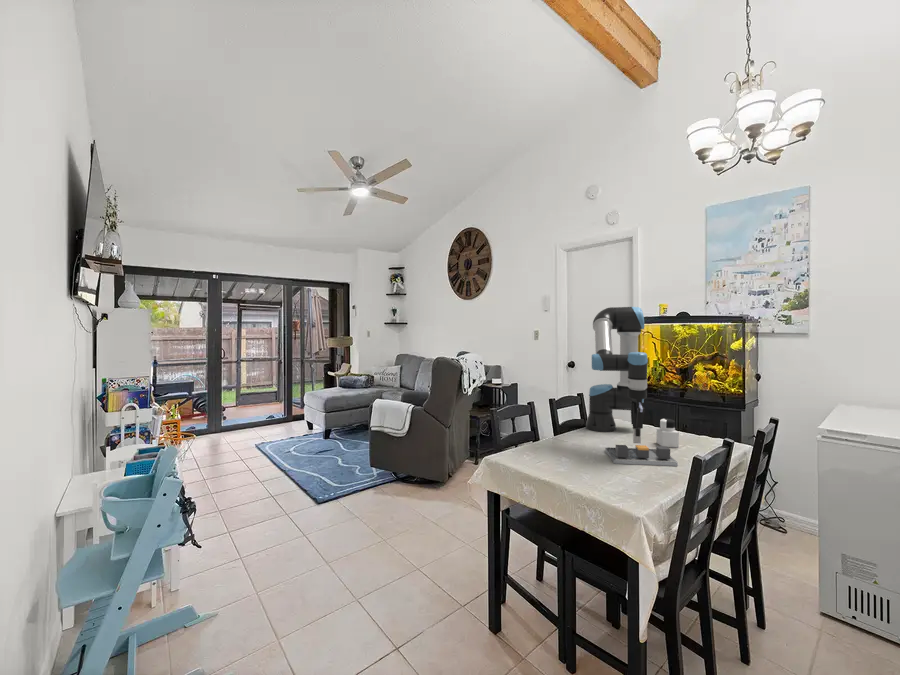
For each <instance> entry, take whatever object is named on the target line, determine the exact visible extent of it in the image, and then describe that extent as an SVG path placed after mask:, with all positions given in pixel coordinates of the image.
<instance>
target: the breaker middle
mask: <svg viewBox="0 0 900 675" xmlns="http://www.w3.org/2000/svg"><path fill="white" fill-rule="evenodd" d="M635 448H636V456H637V457H638V458H649V449H650V447H648V446H647V445H646V444H645V445H644V444H643V445H642V444H641V445H640V444H636V445H635Z"/></svg>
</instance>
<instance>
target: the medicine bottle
mask: <svg viewBox="0 0 900 675" xmlns="http://www.w3.org/2000/svg"><path fill="white" fill-rule="evenodd" d="M655 432H656V439H655V440H656V444H658V446H667V447H668V448H679V447H680V446H679V444H680V443H679V442H680V432H679V431H677V430H676V421H675V420H674V419H671V418H661V419H660V422H659V427H656V431H655Z"/></svg>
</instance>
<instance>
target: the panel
mask: <svg viewBox="0 0 900 675" xmlns="http://www.w3.org/2000/svg"><path fill="white" fill-rule="evenodd" d="M604 451H605V453H606V454H607V456H608V457H609V459H610V460H611V461H612V463H613V464H615V465H635V466H636V465H642V466H643V465H644V466H667V467H678V466H679V465H678V462H677V461H676V459H674V458H673V457H672V456H671V455H670V459H659V458H658V457H657V456H656V448H649V458H638V457H637V456H636V447H635V448H634V447H633V448H632V447H628V458H623V457H617V455H616V447H604Z"/></svg>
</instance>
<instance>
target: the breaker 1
mask: <svg viewBox="0 0 900 675" xmlns="http://www.w3.org/2000/svg"><path fill="white" fill-rule="evenodd" d="M615 448H616V455H617V457H623V458H628V448H629V446H627V445H626V444H615Z"/></svg>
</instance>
